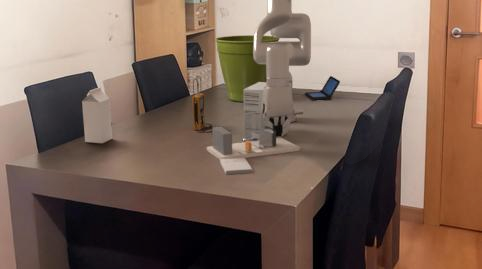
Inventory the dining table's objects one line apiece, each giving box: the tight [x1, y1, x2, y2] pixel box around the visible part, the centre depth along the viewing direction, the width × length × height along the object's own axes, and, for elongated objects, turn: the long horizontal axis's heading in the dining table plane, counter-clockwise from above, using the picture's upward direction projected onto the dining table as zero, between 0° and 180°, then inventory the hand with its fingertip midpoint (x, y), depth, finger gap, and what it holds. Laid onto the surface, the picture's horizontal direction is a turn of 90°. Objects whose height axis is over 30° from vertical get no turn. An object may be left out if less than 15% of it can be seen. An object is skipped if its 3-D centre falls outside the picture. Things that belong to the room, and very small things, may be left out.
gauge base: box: [206, 126, 301, 161], centre depth 212 cm, size 28×14×8 cm, turn 113°
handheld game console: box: [304, 75, 341, 102], centre depth 300 cm, size 16×13×9 cm
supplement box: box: [243, 82, 291, 139], centre depth 232 cm, size 17×13×18 cm
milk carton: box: [81, 86, 113, 144], centre depth 226 cm, size 7×7×19 cm
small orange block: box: [245, 141, 252, 152], centre depth 206 cm, size 1×3×3 cm, turn 23°
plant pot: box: [215, 34, 281, 103], centre depth 297 cm, size 30×30×29 cm
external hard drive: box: [219, 158, 254, 175], centre depth 195 cm, size 2×8×12 cm
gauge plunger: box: [241, 126, 276, 149], centre depth 212 cm, size 10×10×6 cm
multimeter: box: [191, 76, 214, 134], centre depth 242 cm, size 15×10×20 cm
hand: (277, 135), depth 216 cm, fingers closed
